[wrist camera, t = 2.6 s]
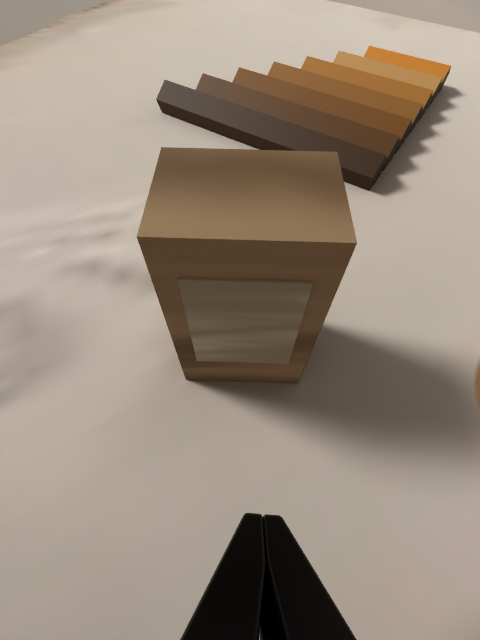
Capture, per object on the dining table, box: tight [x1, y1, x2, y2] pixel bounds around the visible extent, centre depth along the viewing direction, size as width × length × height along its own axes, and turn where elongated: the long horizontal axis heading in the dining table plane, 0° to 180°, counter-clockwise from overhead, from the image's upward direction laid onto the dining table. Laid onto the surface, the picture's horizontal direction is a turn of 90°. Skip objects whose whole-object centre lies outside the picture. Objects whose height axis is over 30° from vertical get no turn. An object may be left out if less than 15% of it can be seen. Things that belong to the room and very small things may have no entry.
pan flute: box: [156, 46, 451, 190], centre depth 39 cm, size 25×3×25 cm
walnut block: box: [137, 147, 357, 383], centre depth 17 cm, size 5×7×12 cm
